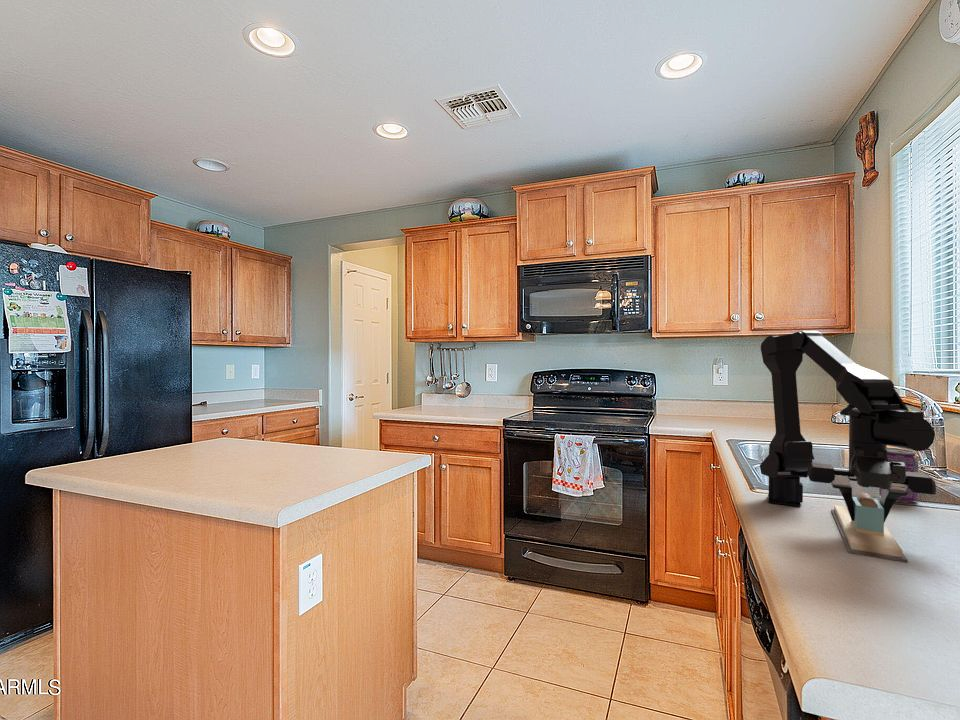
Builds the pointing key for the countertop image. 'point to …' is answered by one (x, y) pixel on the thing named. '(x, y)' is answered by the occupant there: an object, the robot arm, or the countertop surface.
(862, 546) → the board
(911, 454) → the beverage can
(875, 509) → the teal toaster
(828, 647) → the countertop surface
